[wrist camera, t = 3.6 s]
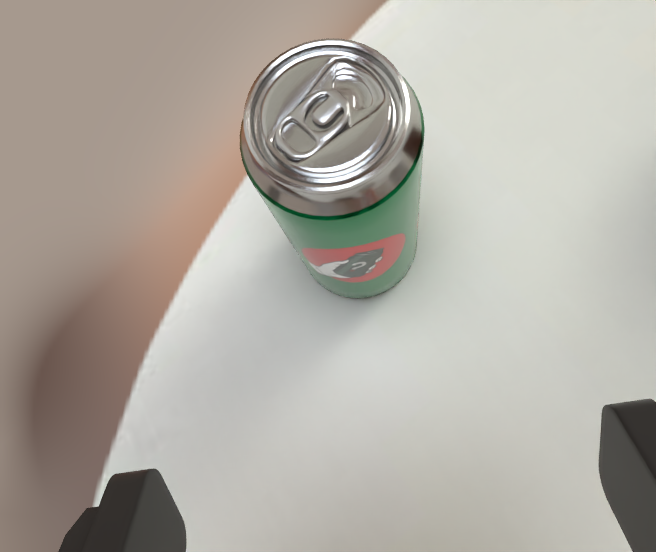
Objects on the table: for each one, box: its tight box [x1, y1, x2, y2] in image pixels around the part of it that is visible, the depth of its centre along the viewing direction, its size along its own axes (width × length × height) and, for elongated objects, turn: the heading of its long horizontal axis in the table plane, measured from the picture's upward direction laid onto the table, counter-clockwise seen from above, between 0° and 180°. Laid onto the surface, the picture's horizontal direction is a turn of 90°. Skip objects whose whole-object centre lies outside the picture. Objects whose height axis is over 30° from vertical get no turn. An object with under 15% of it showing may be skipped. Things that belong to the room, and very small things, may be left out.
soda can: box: [240, 39, 424, 298], centre depth 21 cm, size 5×5×12 cm
